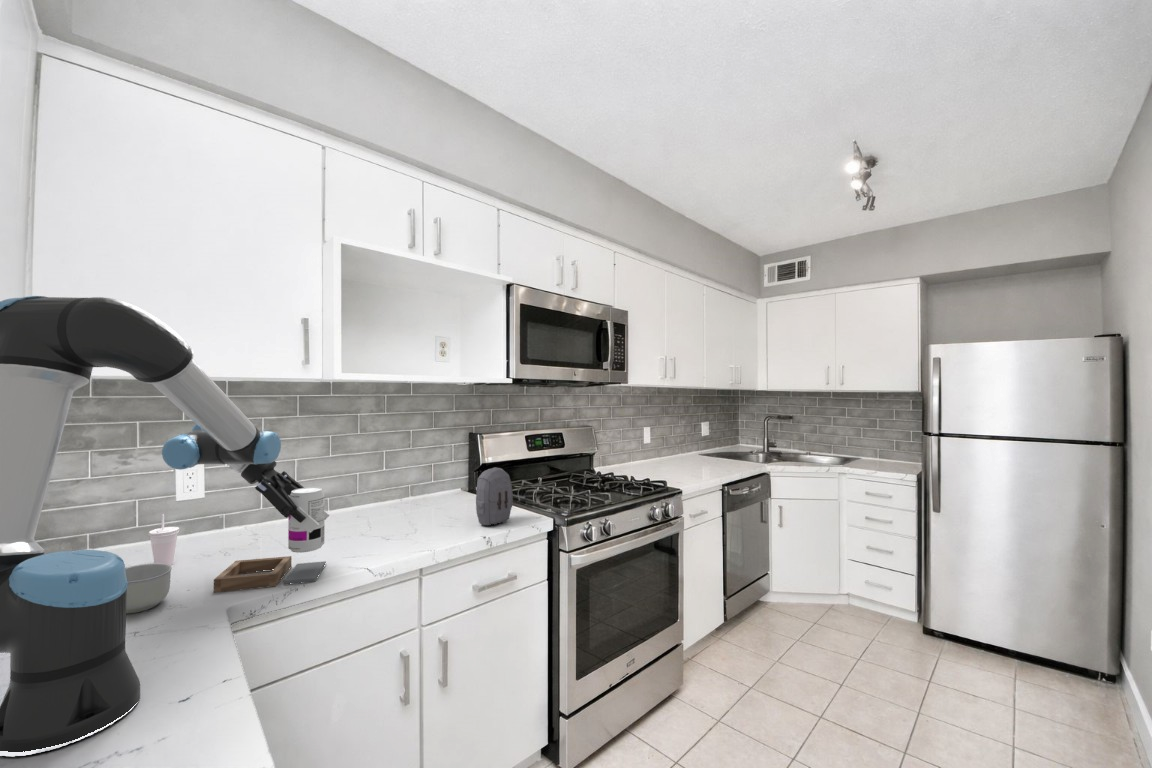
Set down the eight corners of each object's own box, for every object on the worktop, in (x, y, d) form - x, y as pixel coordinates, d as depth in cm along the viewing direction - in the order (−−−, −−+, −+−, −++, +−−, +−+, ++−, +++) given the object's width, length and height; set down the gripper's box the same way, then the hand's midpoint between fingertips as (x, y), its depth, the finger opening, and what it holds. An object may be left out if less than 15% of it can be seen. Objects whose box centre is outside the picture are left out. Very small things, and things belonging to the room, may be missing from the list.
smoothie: (142, 570, 128) (142, 517, 128) (158, 562, 135) (159, 511, 135) (169, 569, 129) (169, 516, 129) (184, 560, 136) (185, 510, 136)
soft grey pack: (503, 517, 181) (503, 463, 182) (519, 521, 176) (519, 466, 176) (471, 526, 170) (471, 469, 170) (487, 530, 164) (487, 471, 165)
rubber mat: (315, 581, 121) (315, 577, 121) (283, 584, 119) (283, 580, 119) (325, 564, 133) (325, 561, 133) (297, 567, 131) (297, 563, 131)
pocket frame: (275, 586, 118) (275, 574, 118) (213, 592, 115) (213, 579, 115) (291, 567, 131) (291, 556, 131) (235, 572, 127) (235, 560, 127)
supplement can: (288, 555, 121) (289, 495, 121) (287, 546, 128) (288, 489, 128) (325, 549, 125) (325, 491, 125) (322, 541, 132) (323, 485, 132)
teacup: (165, 592, 115) (165, 558, 115) (176, 606, 108) (177, 569, 108) (81, 613, 104) (81, 576, 104) (88, 630, 97) (88, 589, 97)
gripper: (259, 467, 134) (322, 522, 137) (219, 482, 113) (294, 547, 116) (281, 447, 135) (343, 503, 138) (244, 459, 114) (318, 524, 117)
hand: (320, 523), depth 127 cm, fingers closed on supplement can, 8 cm apart
